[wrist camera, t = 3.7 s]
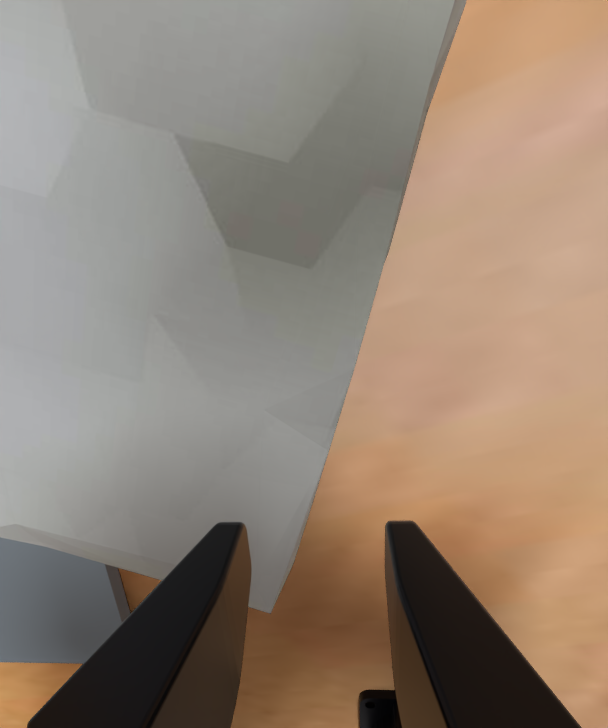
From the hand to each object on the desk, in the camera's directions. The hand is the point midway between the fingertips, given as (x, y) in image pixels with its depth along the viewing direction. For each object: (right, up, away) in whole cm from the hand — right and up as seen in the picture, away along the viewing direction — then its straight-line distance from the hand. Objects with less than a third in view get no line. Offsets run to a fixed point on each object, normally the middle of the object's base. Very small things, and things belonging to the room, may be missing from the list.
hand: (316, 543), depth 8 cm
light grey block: (+2, +3, +6) cm, 7 cm away
